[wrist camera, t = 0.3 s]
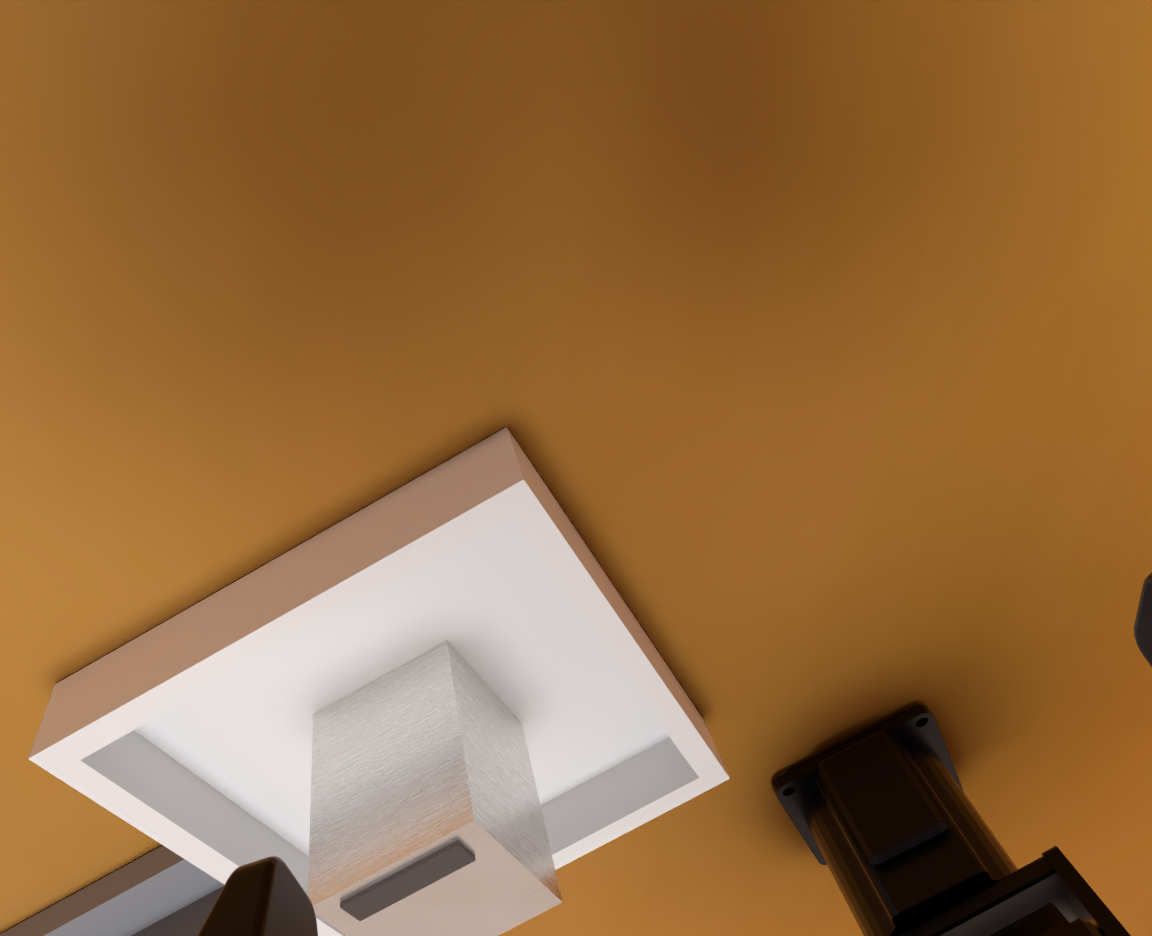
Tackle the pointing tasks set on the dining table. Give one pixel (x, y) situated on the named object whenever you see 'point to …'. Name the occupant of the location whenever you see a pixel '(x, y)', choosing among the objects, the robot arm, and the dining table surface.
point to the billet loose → (426, 808)
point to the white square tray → (373, 648)
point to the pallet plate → (133, 902)
